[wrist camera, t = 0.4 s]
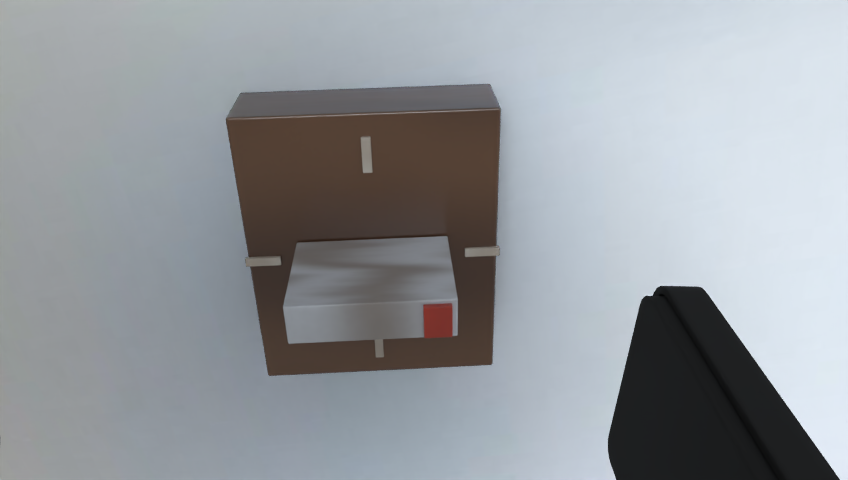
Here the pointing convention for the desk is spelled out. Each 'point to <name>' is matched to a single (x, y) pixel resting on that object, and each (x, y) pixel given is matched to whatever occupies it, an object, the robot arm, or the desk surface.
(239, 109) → the tap console
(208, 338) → the desk surface
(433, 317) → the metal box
